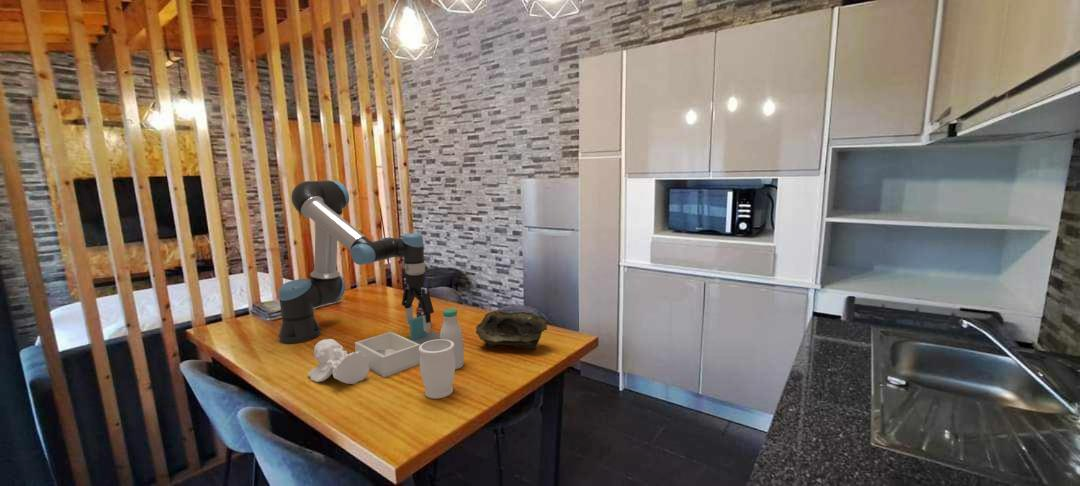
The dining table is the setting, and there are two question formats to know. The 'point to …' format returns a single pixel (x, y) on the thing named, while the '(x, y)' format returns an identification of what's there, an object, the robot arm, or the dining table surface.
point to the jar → (437, 367)
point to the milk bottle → (453, 335)
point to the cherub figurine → (338, 363)
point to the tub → (389, 353)
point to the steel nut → (381, 352)
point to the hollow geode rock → (511, 329)
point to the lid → (420, 331)
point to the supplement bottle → (420, 311)
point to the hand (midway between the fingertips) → (418, 326)
